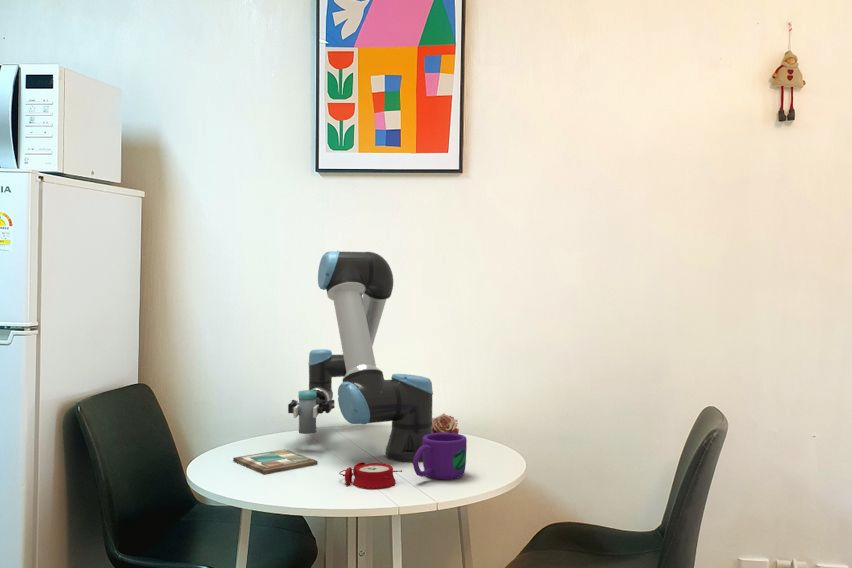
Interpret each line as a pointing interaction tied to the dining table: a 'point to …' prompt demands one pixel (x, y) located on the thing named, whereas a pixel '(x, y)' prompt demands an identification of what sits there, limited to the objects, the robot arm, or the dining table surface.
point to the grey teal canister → (307, 412)
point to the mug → (442, 456)
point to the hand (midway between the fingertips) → (304, 412)
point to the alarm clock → (370, 475)
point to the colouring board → (275, 461)
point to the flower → (444, 424)
